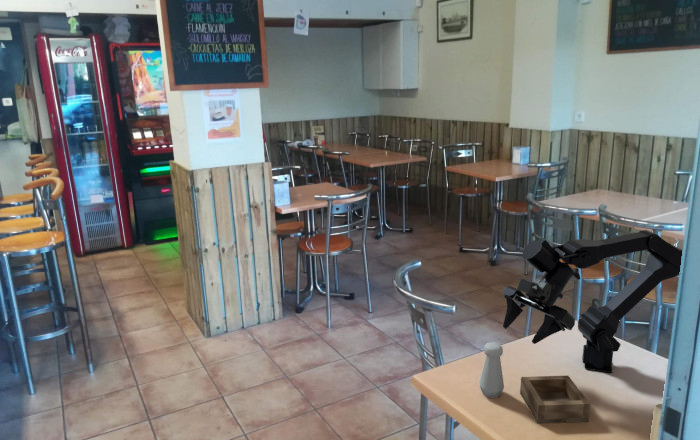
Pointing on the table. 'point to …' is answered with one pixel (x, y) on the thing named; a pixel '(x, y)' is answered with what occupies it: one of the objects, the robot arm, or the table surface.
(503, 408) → the table surface
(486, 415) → the table surface
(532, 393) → the socket block
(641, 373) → the table surface
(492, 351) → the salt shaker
